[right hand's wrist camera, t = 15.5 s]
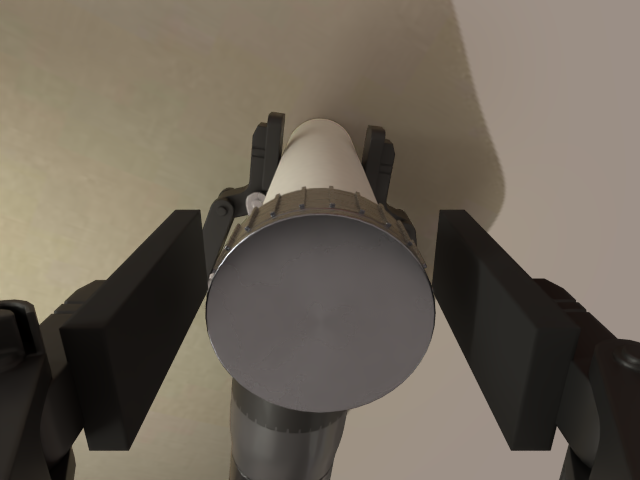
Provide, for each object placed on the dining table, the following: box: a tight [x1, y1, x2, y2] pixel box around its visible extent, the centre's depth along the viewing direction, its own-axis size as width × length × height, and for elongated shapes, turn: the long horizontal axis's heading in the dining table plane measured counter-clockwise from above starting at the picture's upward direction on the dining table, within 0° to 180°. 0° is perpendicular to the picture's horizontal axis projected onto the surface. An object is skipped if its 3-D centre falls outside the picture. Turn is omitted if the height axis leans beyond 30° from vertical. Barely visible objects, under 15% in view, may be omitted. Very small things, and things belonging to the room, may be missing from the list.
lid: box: [206, 186, 436, 413], centre depth 11 cm, size 5×5×2 cm
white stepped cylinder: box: [263, 119, 378, 205], centre depth 20 cm, size 4×4×20 cm
